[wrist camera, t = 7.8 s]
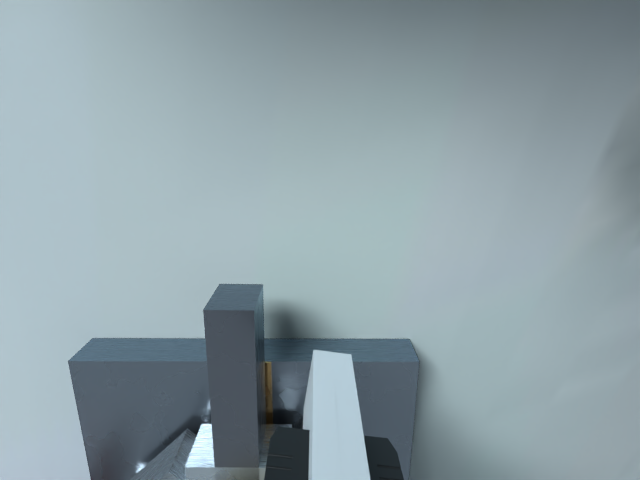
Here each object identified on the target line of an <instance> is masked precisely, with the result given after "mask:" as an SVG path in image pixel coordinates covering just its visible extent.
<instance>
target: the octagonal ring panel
mask: <svg viewBox="0 0 640 480" xmlns="http://www.w3.org/2000/svg"><path fill="white" fill-rule="evenodd" d="M203 312H204V326H205V340H206V354H207V368H208V382H209V396H210V410H211V424H201V427H200V429H199V432H198V434H197V435H196V434H194V433H193V432H192V431H190V430H189V429H187V430H185V431H184V432H183V433H182V434H181V435H180V436H179V437H178V438H176V439H175V440H174V441H173V442H172V443H171V444H170V445H168V446H167V447H166V448H165V449H164V450H163V451H162V452H161V453H159V454H158V455H157V456H156V457H155V458H154V459H153V460H151V461H150V462H149V463H148V464H147V465H146V466H145V467H144V468H142V469H141V470H140V471H139V472H138V473H137V474H136V475H134V476H133V477H132V478H131V480H264V477H265V470H266V463H267V456H268V450H269V443H270V438H271V436H272V435H273V434H274V432H275V431H276V429H277V428H278V426H280V427H288V428H292V424H266V389H265V348H264V306H263V285H261V284H219V286H218V287H217V289H216V290H215V292H214V294H213V295H212V297H211V298H210V300H209V302H208V303H207V305H206V306H205V308H204V310H203Z"/></svg>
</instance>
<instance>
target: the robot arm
mask: <svg viewBox="0 0 640 480" xmlns="http://www.w3.org/2000/svg"><path fill="white" fill-rule="evenodd" d="M264 480H404V478H403V474H402V470H401V465H400V461H399V457H398V453H397V451H396V450H395V448H394V447H393V445H392V444H391V442H390V441H389V439H388V438H382V437H373V436H365V435H364V434H363V428H362V421H361V415H360V408H359V401H358V395H357V388H356V382H355V375H354V369H353V362H352V355H351V354H344V353H336V352H328V351H321V350H313V356H312V361H311V367H310V373H309V379H308V385H307V391H306V397H305V403H304V412H303V429H297V428H288V427H280V426H278V428H277V429H276V431H275V432H274V434H273V435H272V436H271V438H270V443H269V450H268V456H267V463H266V470H265V477H264Z"/></svg>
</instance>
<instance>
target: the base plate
mask: <svg viewBox="0 0 640 480" xmlns="http://www.w3.org/2000/svg"><path fill="white" fill-rule="evenodd" d="M264 348H265V389H266V424H292V428H297V429H303V412H304V403H305V397H306V391H307V385H308V379H309V373H310V367H311V361H312V356H313V350H321V351H328V352H336V353H344V354H351V355H352V362H353V369H354V375H355V382H356V388H357V395H358V401H359V408H360V415H361V421H362V428H363V434H364V435H365V436H373V437H382V438H388V439H389V441H390V442H391V444H392V445H393V447H394V448H395V450H396V451H397V453H398V457H399V461H400V465H401V470H402V474H403V478H404V480H409V472H410V461H411V450H412V439H413V428H414V417H415V406H416V395H417V384H418V373H419V360H418V357H417V355H416V353H415V351H414V348H413V346H412V344H411V342H410V339H264ZM68 363H69V369H70V374H71V379H72V384H73V389H74V394H75V399H76V404H77V410H78V415H79V420H80V425H81V430H82V435H83V440H84V446H85V451H86V456H87V461H88V466H89V471H90V476H91V480H131V478H132V477H133V476H134V475H136V474H137V473H138V472H139V471H140V470H141V469H142V468H144V467H145V466H146V465H147V464H148V463H149V462H150V461H151V460H153V459H154V458H155V457H156V456H157V455H158V454H159V453H161V452H162V451H163V450H164V449H165V448H166V447H167V446H168V445H170V444H171V443H172V442H173V441H174V440H175V439H176V438H178V437H179V436H180V435H181V434H182V433H183V432H184V431H185V430H187V429H189V430H190V431H192V432H193V433H194V434H196V435H197V434H198V432H199V429H200V427H201V424H211V410H210V396H209V382H208V368H207V354H206V340H205V339H160V338H92V339H91V340H90V341H89V342H88V343H87V344H86V345H85V346H84V347H83V348H82V349H81V350H80V351H78V352H77V353H76V354H75V355H74V356H73V357H72V358H71V359H70V360H69V361H68Z"/></svg>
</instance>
